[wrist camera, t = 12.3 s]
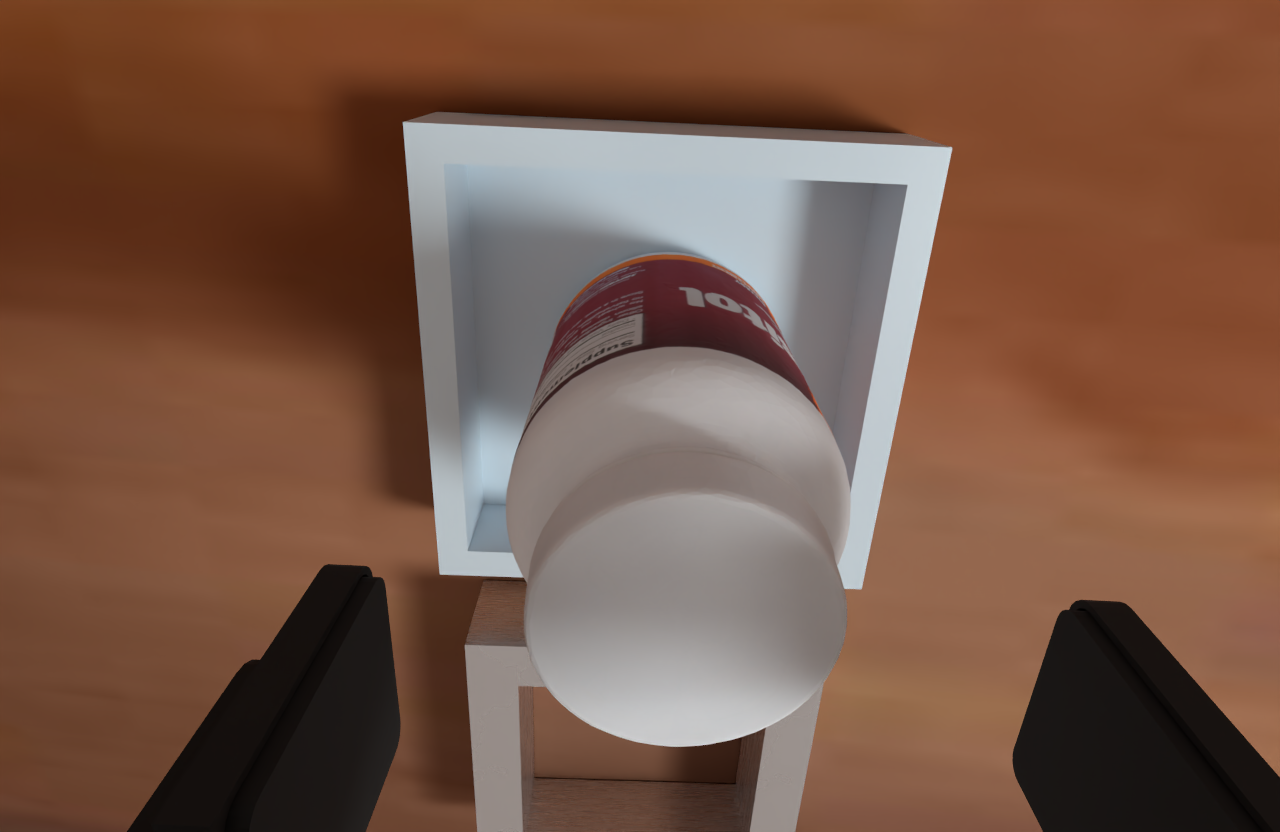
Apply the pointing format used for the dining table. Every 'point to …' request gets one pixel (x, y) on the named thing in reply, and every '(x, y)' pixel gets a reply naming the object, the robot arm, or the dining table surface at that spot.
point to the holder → (601, 809)
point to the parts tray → (650, 223)
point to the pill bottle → (678, 510)
